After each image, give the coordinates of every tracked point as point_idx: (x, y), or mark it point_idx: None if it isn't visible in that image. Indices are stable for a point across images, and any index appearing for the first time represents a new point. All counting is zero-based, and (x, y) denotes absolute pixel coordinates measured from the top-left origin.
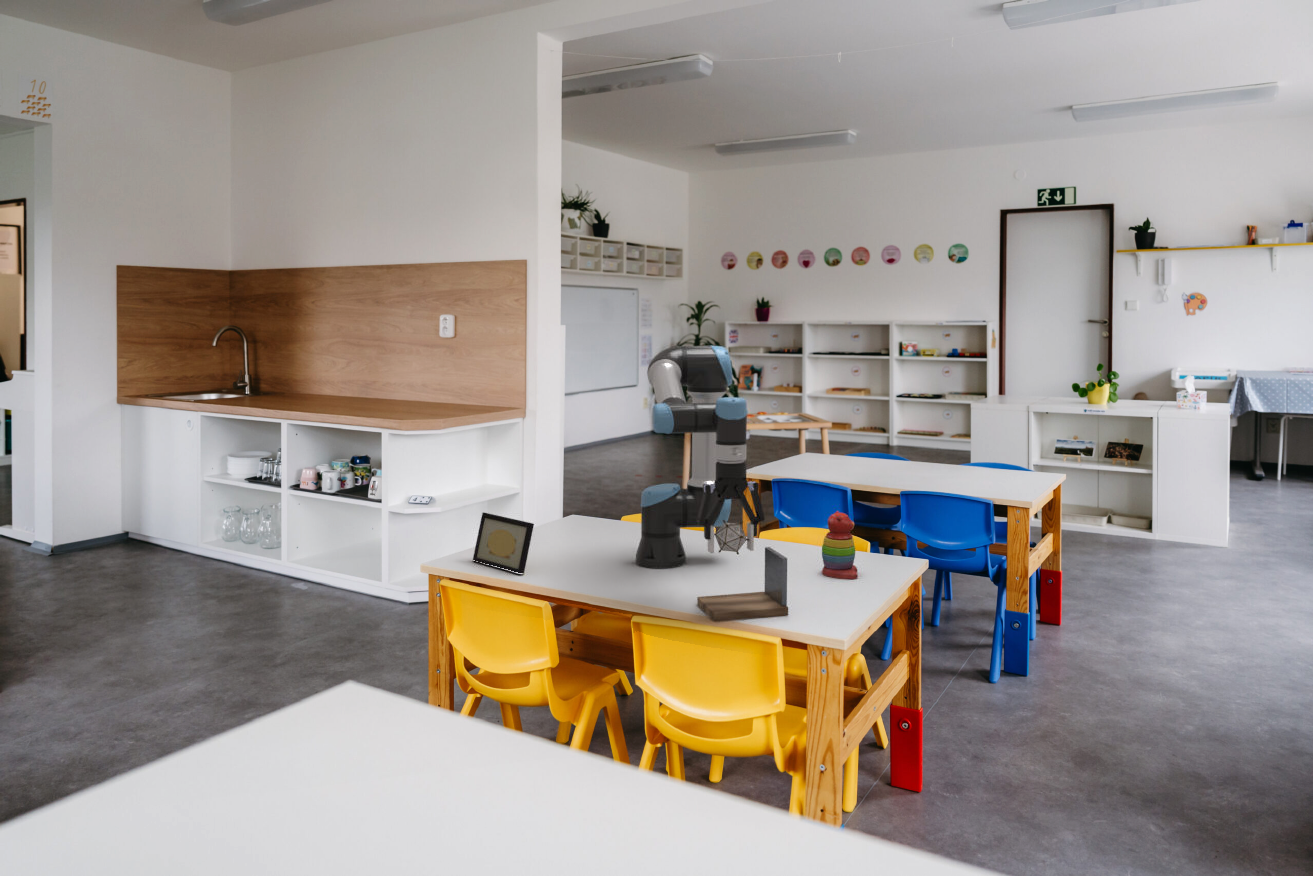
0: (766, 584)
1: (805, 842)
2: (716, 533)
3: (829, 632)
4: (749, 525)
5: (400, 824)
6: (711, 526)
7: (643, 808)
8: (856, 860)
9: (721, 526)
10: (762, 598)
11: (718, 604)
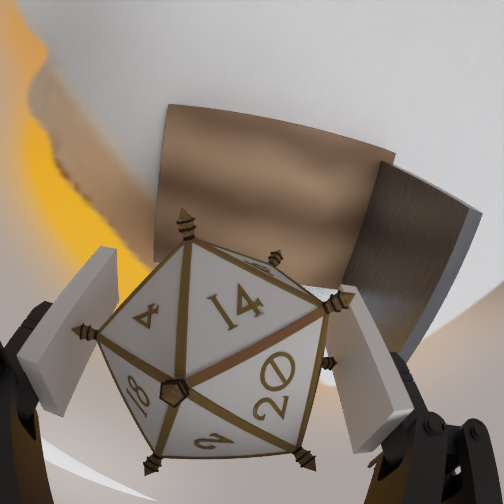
0: (389, 182)
1: (122, 488)
2: (103, 353)
3: None
4: (364, 432)
5: None
6: (44, 398)
7: (58, 457)
8: (138, 496)
9: (142, 372)
10: (343, 204)
11: (195, 197)
